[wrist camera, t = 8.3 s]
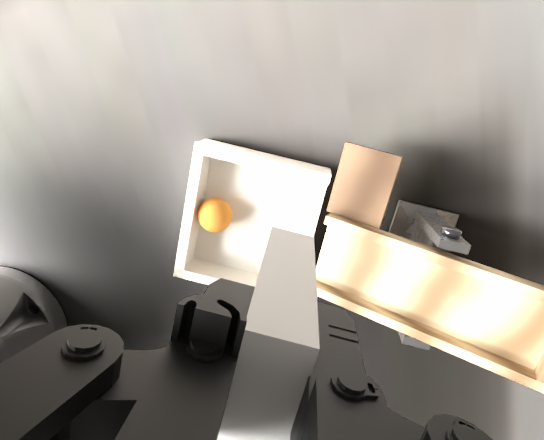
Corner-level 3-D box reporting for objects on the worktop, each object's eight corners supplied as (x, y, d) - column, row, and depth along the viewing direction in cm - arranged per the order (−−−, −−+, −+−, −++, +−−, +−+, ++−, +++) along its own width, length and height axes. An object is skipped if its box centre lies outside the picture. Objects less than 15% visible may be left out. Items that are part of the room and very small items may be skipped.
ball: (187, 227, 41) (212, 240, 39) (193, 194, 40) (218, 206, 38) (211, 222, 43) (235, 234, 42) (217, 192, 42) (242, 203, 41)
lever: (309, 280, 40) (300, 288, 38) (348, 142, 36) (340, 142, 34) (539, 376, 32) (544, 394, 30) (622, 215, 28) (635, 222, 26)
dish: (185, 261, 45) (172, 276, 41) (205, 138, 41) (194, 142, 37) (297, 289, 45) (295, 307, 41) (330, 168, 40) (331, 175, 37)
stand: (367, 295, 44) (379, 344, 35) (399, 198, 40) (421, 226, 32) (421, 308, 44) (447, 361, 35) (457, 212, 40) (496, 244, 32)
